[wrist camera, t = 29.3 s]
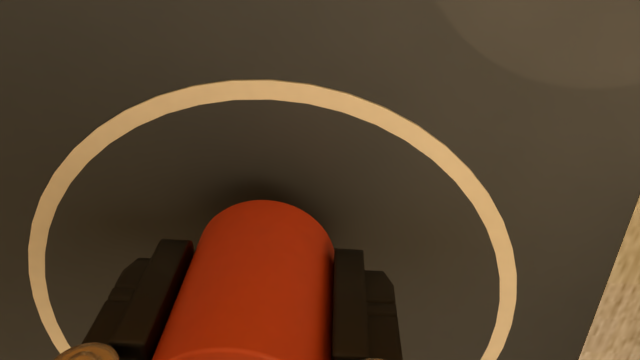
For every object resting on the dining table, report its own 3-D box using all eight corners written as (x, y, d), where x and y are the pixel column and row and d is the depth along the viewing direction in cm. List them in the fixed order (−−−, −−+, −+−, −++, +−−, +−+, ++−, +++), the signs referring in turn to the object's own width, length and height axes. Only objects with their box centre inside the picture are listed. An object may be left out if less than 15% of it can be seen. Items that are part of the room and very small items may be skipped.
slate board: (30, 474, 22) (24, 487, 22) (-153, -51, 13) (-171, -48, 12) (518, 503, 22) (522, 516, 22) (705, -10, 13) (718, -6, 12)
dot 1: (203, 305, 15) (147, 475, 11) (194, 194, 14) (123, 344, 9) (331, 312, 15) (327, 485, 11) (338, 202, 14) (336, 355, 9)
